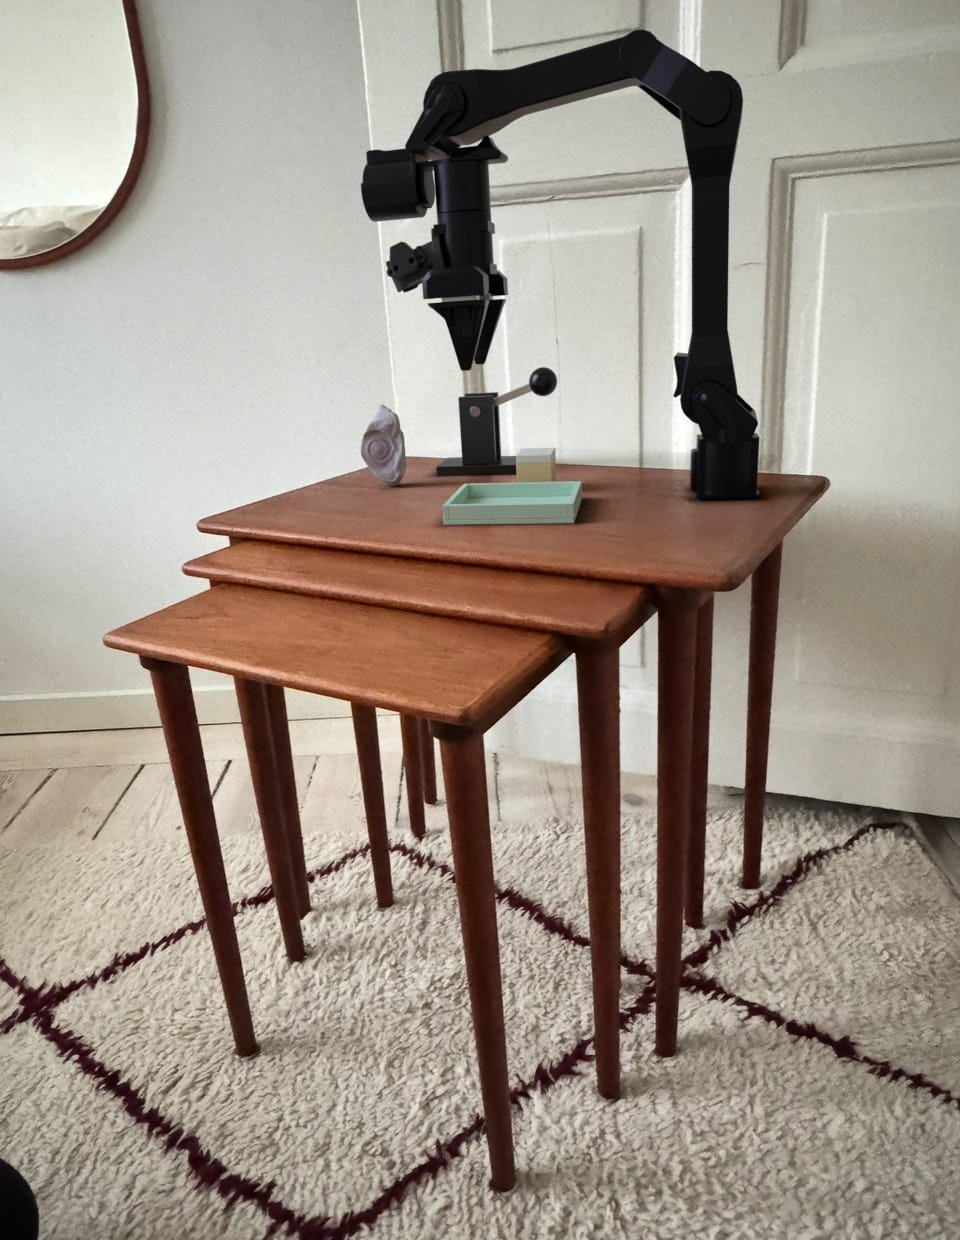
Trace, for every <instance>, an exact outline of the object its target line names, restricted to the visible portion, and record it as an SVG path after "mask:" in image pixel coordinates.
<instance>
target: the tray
mask: <svg viewBox="0 0 960 1240" xmlns="http://www.w3.org/2000/svg"><path fill="white" fill-rule="evenodd" d="M582 500H583V482H582V480H579V481H577V480H576V481H575V480H574V481H556V482H521V483H517V482H481V483H479V482H478V483H475V482H473V483H463V484H462V485H461V486H460V487H459V488H458V489H457V490H456V491H455V492H454V493H453V494H452V495H451V497H449V498H448V499H447V500H446V501H445V502H444V503H443V505H442V515H443V517H442V519H443V525H446V526H449V525H451V526H454V525H455V526H456V525H457V526H458V525H459V526H460V525H464V526H465V525H531V524H532V525H535V524H536V525H538V524H539V525H540V524H541V525H542V524H547V525H549V524H574V523H575V521H576V518H577V515H578V512H579V509H580V506H581V503H582Z"/></svg>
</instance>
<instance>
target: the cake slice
mask: <svg viewBox="0 0 960 1240" xmlns="http://www.w3.org/2000/svg"><path fill="white" fill-rule="evenodd" d="M556 451H557V449H556V447H532V448H529V447H528V448H526V447H525V448H521V449H520V450H519V451H518V452H517V454H516V455H515V456H516V463H517V464H516V468H517V474H516V483H521V482H557V457H556V454H557V453H556Z"/></svg>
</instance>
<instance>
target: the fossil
mask: <svg viewBox="0 0 960 1240" xmlns="http://www.w3.org/2000/svg"><path fill="white" fill-rule="evenodd" d="M405 442H406V441H405V434H404V432H403V431H402V429H401V422H400V418H399V416H398V414H397V413H395V412H393V411H392V409H391V408H388V407H387V406H386V405H384V404H380V405H379V406H378V408H377V410H376V413H374V415H373V416H372V417H371V419H370V421H368V424H367V426H366V427H365V431H364V433H363V436H362V439H361V444H360V456H361V458H362V460H363V461H364V463H365V465H366V466H367V467H368V469H369V470H370V472H371V473H372V474H373V475H374V476H375V477H376V478H377V479H378V480H379V481H381V482H383V483H384V484H386V485H387V486H390V487H397V486H399V485H400V484H401V481H402V480H403V478H404V477H405V472H406V469H407V458H406V457H407V456H406V445H405Z"/></svg>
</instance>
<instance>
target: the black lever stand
mask: <svg viewBox="0 0 960 1240" xmlns="http://www.w3.org/2000/svg"><path fill="white" fill-rule="evenodd" d="M486 395H487V396H486ZM498 396H499V392H498V391H493V392H468V393H467V392H466V393H464V395H463V396H458V399H457V401H458V413H459V414H458V415H459V431H460V432H459V433H460V445H461V446H460V447H461V448H460V449H461V456H458V457H457V456H455V457H447V458H445V459H444V460H443V461H442V462H441V463H439V464H438V465H436V468H435V469H436V476H437V477H442V476H443V477H444V476H487V475H517V468H516V464H517V463H516V455H502V442H501V422H500V421H501V420H500V405H498V406H495V407H494V400H493V398H496V397H498Z"/></svg>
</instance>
